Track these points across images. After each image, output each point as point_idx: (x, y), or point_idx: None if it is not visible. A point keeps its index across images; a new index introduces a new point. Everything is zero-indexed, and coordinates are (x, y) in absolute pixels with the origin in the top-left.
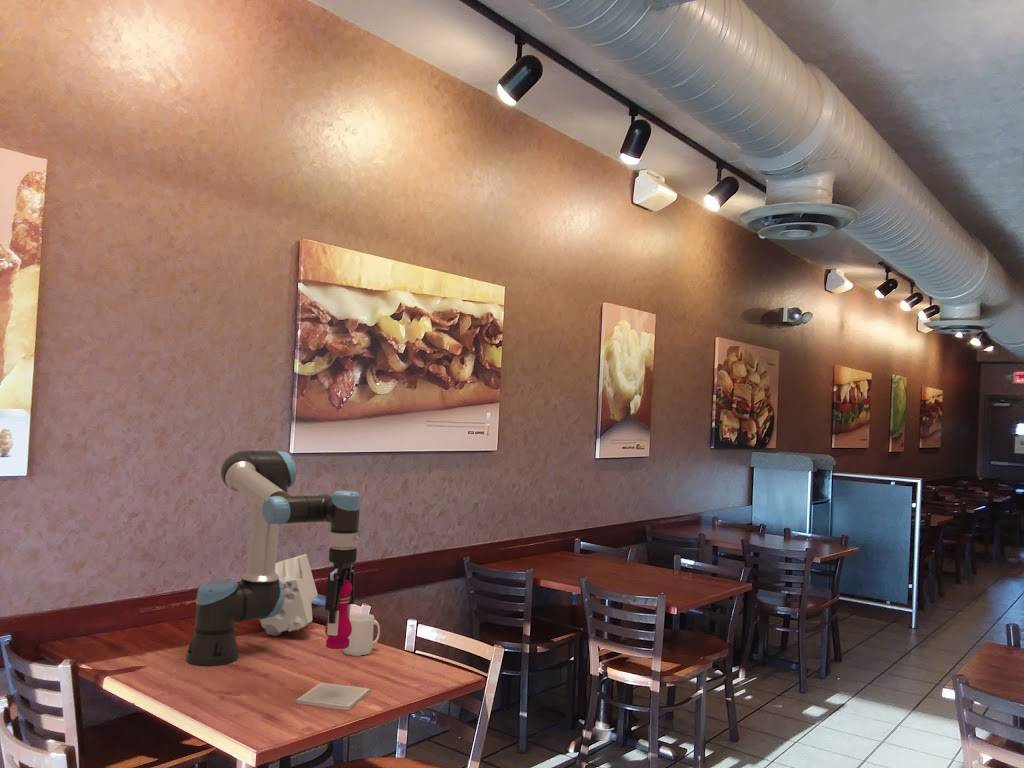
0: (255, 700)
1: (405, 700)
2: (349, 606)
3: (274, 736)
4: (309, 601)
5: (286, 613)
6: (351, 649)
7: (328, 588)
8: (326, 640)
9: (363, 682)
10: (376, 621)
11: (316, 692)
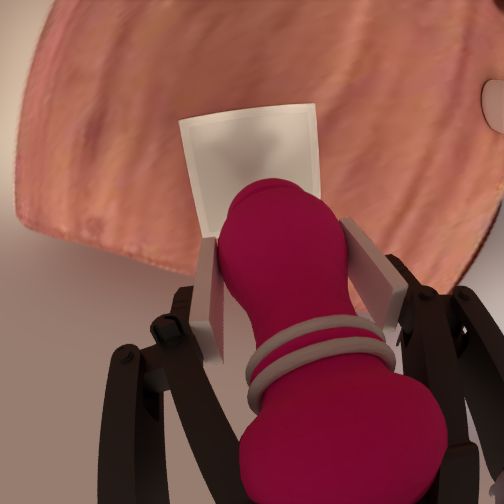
0: (154, 37)
1: None
2: (380, 328)
3: (47, 202)
4: None
5: None
6: (489, 100)
7: (106, 490)
8: (246, 194)
9: (370, 179)
10: None
11: (243, 132)
